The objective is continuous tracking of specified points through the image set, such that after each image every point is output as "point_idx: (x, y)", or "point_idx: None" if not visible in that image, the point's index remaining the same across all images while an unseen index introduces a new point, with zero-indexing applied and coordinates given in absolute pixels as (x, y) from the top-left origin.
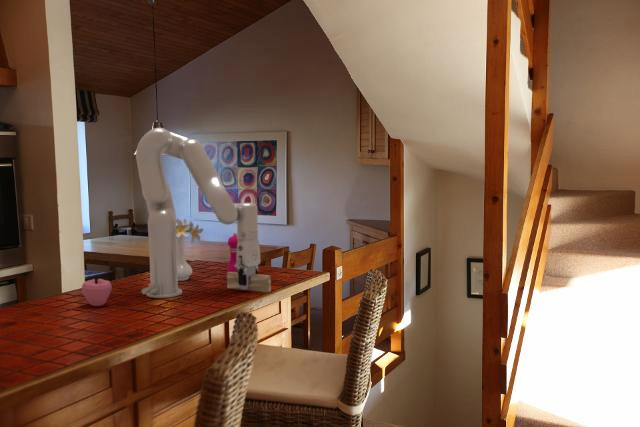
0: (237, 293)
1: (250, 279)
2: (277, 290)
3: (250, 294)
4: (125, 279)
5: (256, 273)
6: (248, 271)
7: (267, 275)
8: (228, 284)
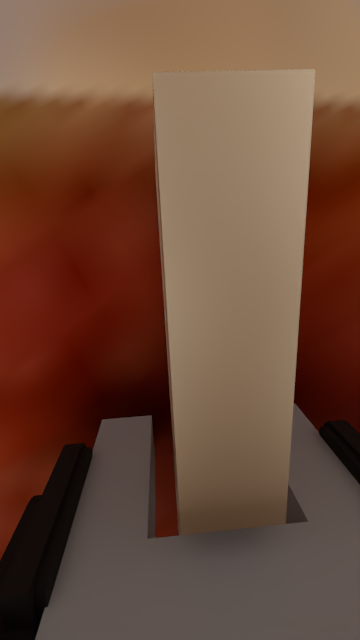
0: (354, 418)
1: (151, 508)
2: (64, 127)
3: (354, 296)
4: None
5: (56, 547)
6: (349, 635)
7: (196, 165)
8: None
